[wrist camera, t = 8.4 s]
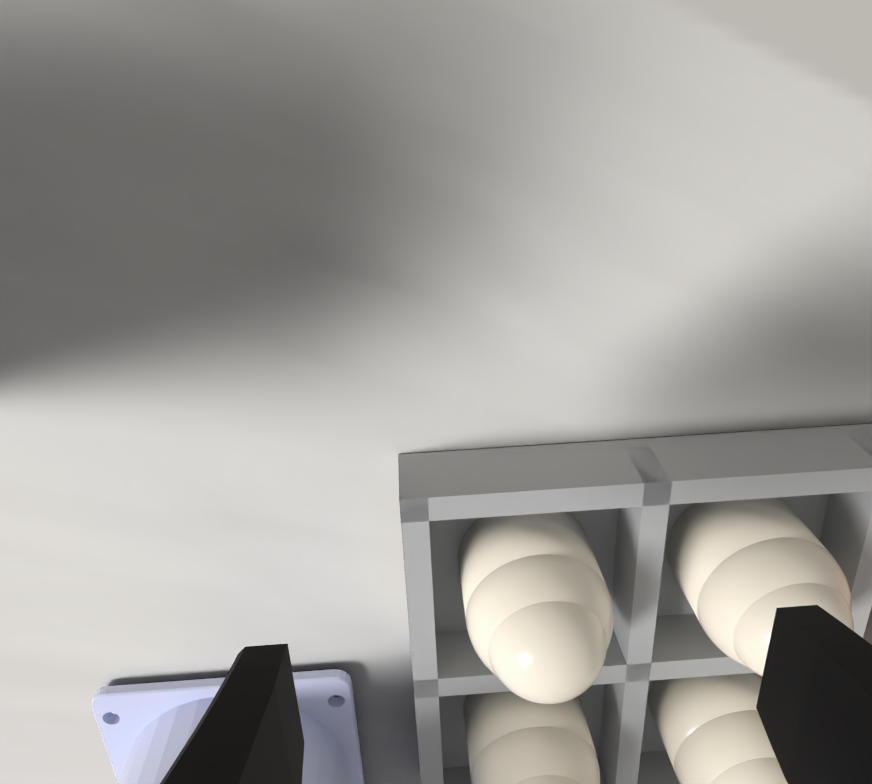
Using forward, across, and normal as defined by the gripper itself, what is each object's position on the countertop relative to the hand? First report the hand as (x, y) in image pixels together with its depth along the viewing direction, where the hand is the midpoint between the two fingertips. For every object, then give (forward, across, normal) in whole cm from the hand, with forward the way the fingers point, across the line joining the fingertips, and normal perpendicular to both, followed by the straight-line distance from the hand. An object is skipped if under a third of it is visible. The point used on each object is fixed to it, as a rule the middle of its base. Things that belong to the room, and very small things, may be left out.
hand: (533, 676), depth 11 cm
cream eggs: (+9, -8, +8) cm, 14 cm away
